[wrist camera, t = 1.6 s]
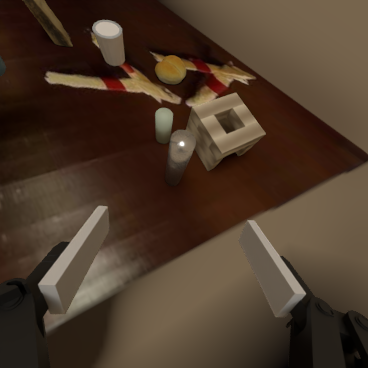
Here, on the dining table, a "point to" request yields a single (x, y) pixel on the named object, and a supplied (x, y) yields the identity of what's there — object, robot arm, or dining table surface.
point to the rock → (49, 22)
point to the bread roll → (171, 70)
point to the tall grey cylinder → (179, 155)
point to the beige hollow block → (223, 129)
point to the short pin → (163, 125)
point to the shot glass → (110, 41)
